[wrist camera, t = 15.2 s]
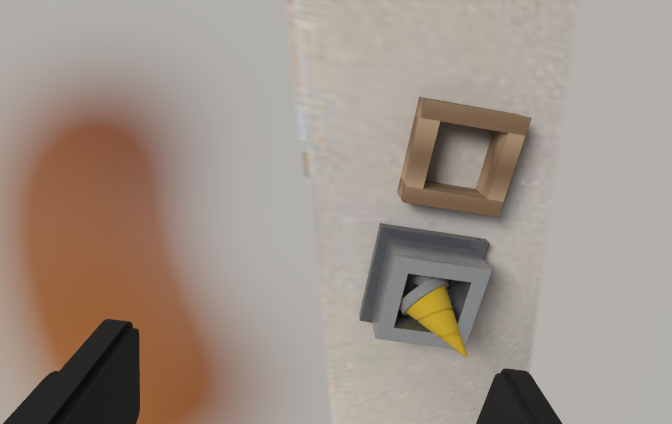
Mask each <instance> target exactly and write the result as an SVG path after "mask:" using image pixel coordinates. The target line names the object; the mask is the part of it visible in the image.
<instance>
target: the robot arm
mask: <svg viewBox="0 0 672 424" xmlns="http://www.w3.org/2000/svg"><path fill="white" fill-rule="evenodd" d="M139 379H140V374H139V330H138V329H135V328H133V325H132V323H131V322H127V321H119V320H111V319H106V320H104V321H103V322H102V323H101V324H100V325H99V326H98V328H97V329H96V330H95V331H94V332H93V333H92V334H91V336H90V337H89V338H88V339H87V340H86V341H85V342H84V344H83V345H82V346H81V347H80V348H79V349H78V350H77V352H76V353H75V354H74V355H73V356H72V357H71V358H70V360H69V361H68V362H67V363H66V364H65V365H64V367H63V368H62V369H61V370H60V371H54V372H52V373H50V374H49V375H48V376H46V377H45V378H44V379H43V380H42V381H41V383H39V385H38V386H37V387H36V388H35V389H34V390H33V391H32V392H31V394H30V395H29V396H28V397H27V398H26V399H25V400H24V401H23V402H22V403H21V405H20V406H19V407H18V408H17V409H16V410H15V411H14V412H13V413H12V414H11V416H10V417H9V418H8V419H7V420H6V421H5V422H4V423H3V424H136V422H137V419H138V416H139V411H140V385H139V384H140V383H139V381H140V380H139ZM476 424H562V423H561V421H560V419H559V418H558V416H557V415H556V413H555V412H554V410H553V409H552V407H551V406H550V404H549V402H548V401H547V400H546V398H545V396H544V395H543V393H542V392H541V390H540V389H539V387H538V386H537V384H536V382H535V381H534V379H533V378H532V376H531V375H530V374H529V373H528V372H526V371H522V370H514V369H503V370H502V371H501V373H498V374H496V375H495V377H494V379H493V382H492V384H491V387H490V390H489V392H488V395H487V397H486V400H485V402H484V405H483V407H482V410H481V413H480V415H479V418H478V420H477V423H476Z"/></svg>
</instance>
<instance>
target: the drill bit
mask: <svg viewBox="0 0 672 424" xmlns="http://www.w3.org/2000/svg"><path fill="white" fill-rule="evenodd" d="M417 285H419V286H418V287H417V288H416V286H417ZM448 285H449V284H448V282H447V281H446V280H445V279H443V278H436V277H434V278H432V279H431V277H429V276H422V275H415V274H408V275H407V279H406V283H405V287H404V291H403V295H404V296H405V297H404V298H403V299H402V300H401V302H400V306H399V309H400V311H401V312H402V314H403V315H408V314H409V315H410V316H411V317H413V318H414V319H415V320H418V322H419V323H421V324H422V325H423V326H425V327H426V328H427V329H429V330H430V331H431V332H433V333H434V334H435V335H437V336H438V337H439V338H441V339H442V340H443V341H445V342H446V343H447V344H449V345H450V346H451V347H453V348H454V349H455V350H457V351H458V352H460V353H461V354H462V355H463V356H465V357H466V358H467V357H468V356H467V353H466V350H465V346H464V343H463V340H462V337H461V334H460V331H459V327H458V324H457V321H456V318H455V315H454V312H453V308H452V305H451V302H450V299H449V296H448V292H447V289H446V288H447V287H448Z"/></svg>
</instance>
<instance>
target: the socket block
mask: <svg viewBox="0 0 672 424" xmlns="http://www.w3.org/2000/svg"><path fill="white" fill-rule="evenodd" d="M440 121H441V122H447V123H453V124H459V125H465V126H471V127H476V128H482V129H488V130H494V132H493V135H492V138H491V141H490V145H489V148H488V151H487V154H486V158H485V161H484V164H483V168H482V171H481V174H480V177H479V181H478V184H477V187H476V189H471V188H465V187H459V186H452V185H446V184H440V183H434V182H427V181H425V179H426V175H427V171H428V168H429V164H430V160H431V156H432V152H433V148H434V144H435V140H436V136H437V132H438V128H439V125H440ZM530 121H531V118H529V117H525V116H521V115H518V114H513V113H507V112H502V111H496V110H490V109H485V108H479V107H473V106H467V105H462V104H456V103H450V102H445V101H439V100H433V99H428V98H422V97H419V101H418V106H417V110H416V114H415V118H414V123H413V127H412V131H411V136H410V140H409V144H408V148H407V153H406V157H405V161H404V166H403V170H402V174H401V179H400V183H399V187H398V191H397V192H398V194H399V196H400V198H401V200H402V202H405V203H411V204H418V205H424V206H431V207H437V208H444V209H450V210H457V211H463V212H470V213H476V214H483V215H489V216H496V217H498V216H499V213H500V210H501V207H502V204H503V202H504V199H505V196H506V193H507V190H508V187H509V184H510V181H511V178H512V175H513V172H514V169H515V166H516V163H517V160H518V157H519V154H520V151H521V148H522V145H523V142H524V139H525V136H526V133H527V130H528V127H529V124H530Z"/></svg>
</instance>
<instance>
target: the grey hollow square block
mask: <svg viewBox="0 0 672 424" xmlns="http://www.w3.org/2000/svg"><path fill="white" fill-rule="evenodd" d="M488 245H489V243H488V242H487V241H486V239H481V238H474V237H467V236H461V235H454V234H447V233H441V232H434V231H427V230H421V229H414V228H407V227H401V226H394V225H387V224H381V223H380V226H379V230H378V234H377V239H376V243H375V248H374V252H373V257H372V261H371V266H370V270H369V275H368V279H367V284H366V288H365V293H364V297H363V302H362V306H361V311H360V321H367V322H373V328H374V334H375V339H383V340H391V341H399V342H406V343H414V344H422V345H430V346H438V347H446V348H453V347H451V346H450V345H449V344H447V343H446V342H445V341H443V340H442V339H441V338H439V337H438V336H437V335H435V334H434V333H433V332H431V331H430V330H429V329H427V328H426V327H425V326H423V325H422V324H421V323H419V322H418V320H415V319H414V318H413V317H411V316H410V315H409V314H408V315H403V314H402V312H401V311H400V309H399V306H400V302H401V300H402V299H403V298H404V297H405V296H404V295H403V291H404V287H405V283H406V279H407V275H408V274H415V275H422V276H429V277H431V279H432V278H434V277H436V278H443V279H445V280H446V281H447V282H448V284H449V285H448V287H447V288H446V289H447V292H448V296H449V299H450V302H451V305H452V308H453V312H454V315H455V318H456V321H457V324H458V327H459V331H460V334H461V337H462V340H463V343H464V346H465V347H466V344H467V341H468V338H469V335H470V332H471V330H472V327H473V324H474V321H475V318H476V315H477V312H478V309H479V307H480V304H481V301H482V298H483V295H484V292H485V289H486V286H487V283H488V281H489V278H490V275H491V272H492V270H491V269H490V267H489V266H488V265H487V263H486V262H485V261H484V257H485V254H486V251H487V248H488ZM418 286H419V285H417V286H416V288H417V287H418Z"/></svg>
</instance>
